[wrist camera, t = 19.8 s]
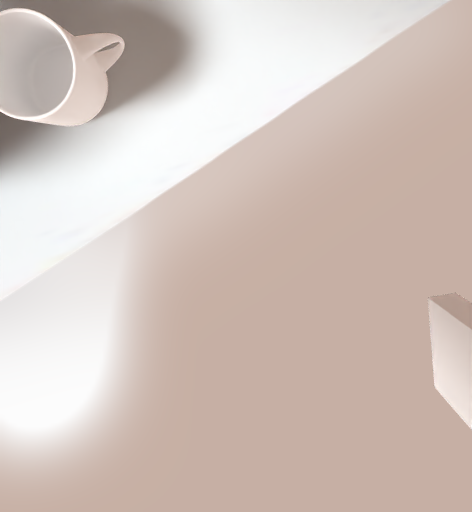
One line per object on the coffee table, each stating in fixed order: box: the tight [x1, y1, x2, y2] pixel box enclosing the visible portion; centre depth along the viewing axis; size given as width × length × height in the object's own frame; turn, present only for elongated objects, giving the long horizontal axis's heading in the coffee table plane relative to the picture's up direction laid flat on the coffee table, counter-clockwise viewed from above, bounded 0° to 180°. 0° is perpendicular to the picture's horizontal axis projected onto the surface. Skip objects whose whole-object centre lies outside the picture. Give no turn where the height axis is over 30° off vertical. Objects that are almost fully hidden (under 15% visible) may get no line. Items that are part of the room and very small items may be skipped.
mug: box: [0, 8, 125, 126], centre depth 42 cm, size 9×12×11 cm
